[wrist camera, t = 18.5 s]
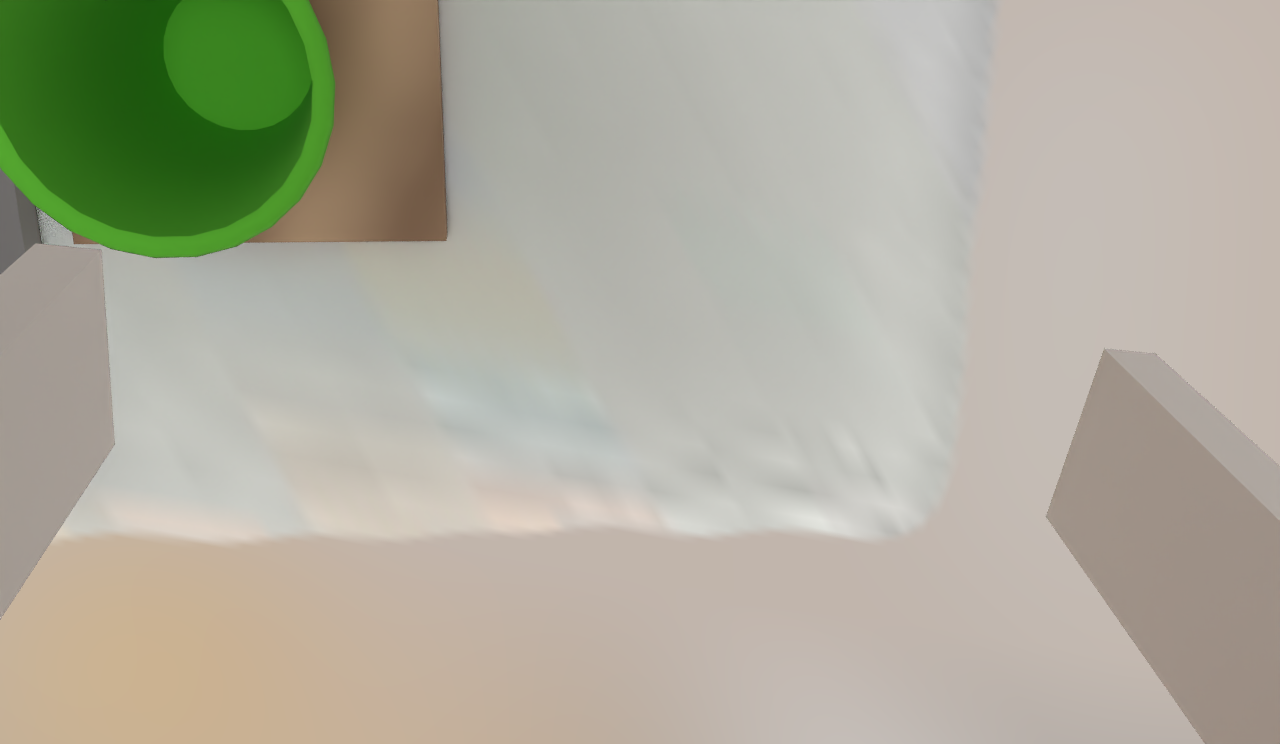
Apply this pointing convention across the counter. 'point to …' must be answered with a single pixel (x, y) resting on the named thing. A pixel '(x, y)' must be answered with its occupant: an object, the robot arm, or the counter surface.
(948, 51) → the counter surface
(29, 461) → the robot arm
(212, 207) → the cup
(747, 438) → the counter surface
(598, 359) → the counter surface
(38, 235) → the equipment case
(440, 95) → the board
